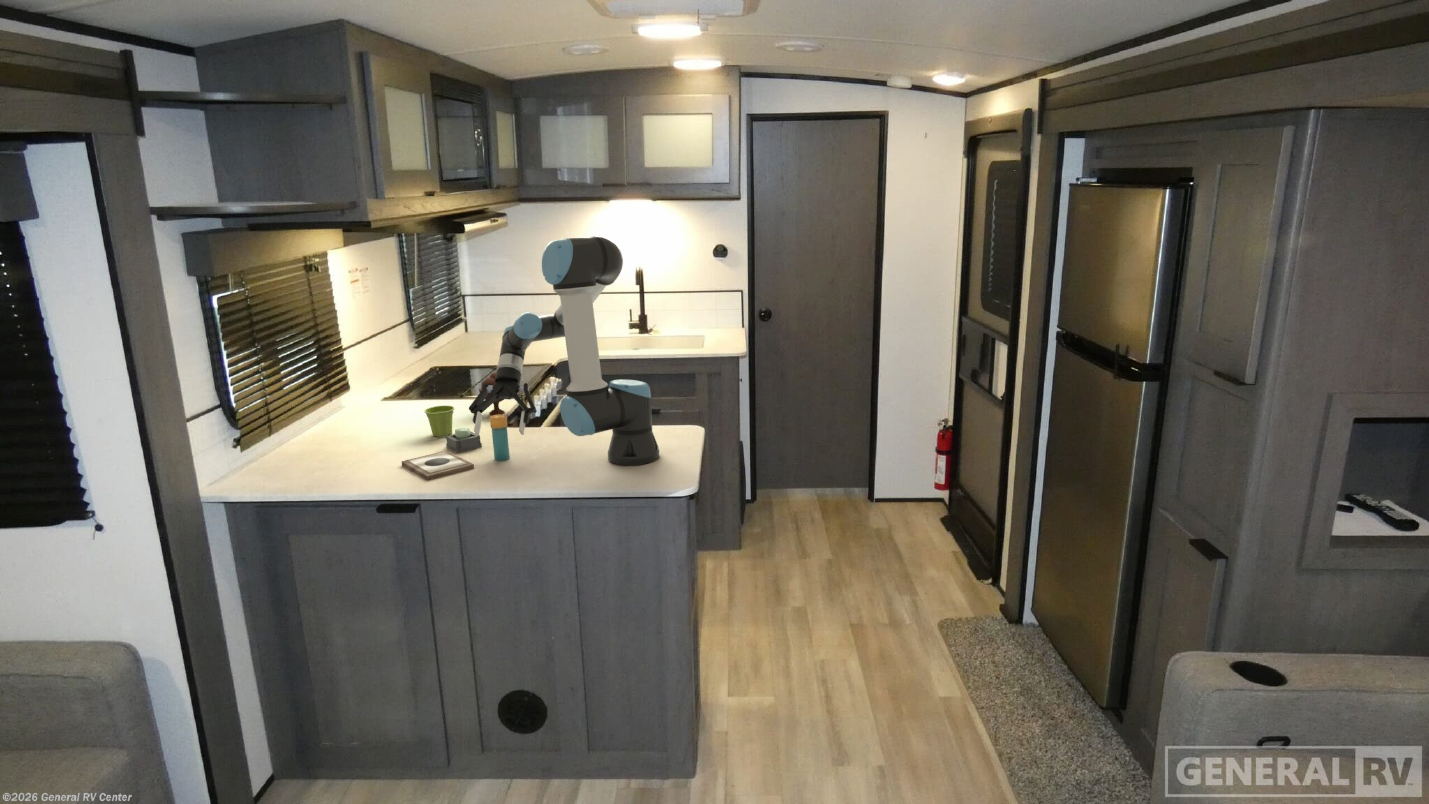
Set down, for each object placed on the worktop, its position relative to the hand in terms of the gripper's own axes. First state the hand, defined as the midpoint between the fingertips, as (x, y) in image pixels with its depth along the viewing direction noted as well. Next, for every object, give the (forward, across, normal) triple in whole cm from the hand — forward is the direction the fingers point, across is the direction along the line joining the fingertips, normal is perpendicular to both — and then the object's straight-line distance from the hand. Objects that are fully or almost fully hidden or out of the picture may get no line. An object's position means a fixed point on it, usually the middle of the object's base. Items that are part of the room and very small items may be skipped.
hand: (498, 432), depth 253 cm
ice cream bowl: (-28, +17, -40) cm, 52 cm away
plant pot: (-11, +27, -22) cm, 37 cm away
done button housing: (-2, +15, -13) cm, 20 cm away
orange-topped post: (+6, -1, -5) cm, 8 cm away
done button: (-4, +15, -11) cm, 19 cm away
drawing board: (+11, +16, 0) cm, 20 cm away
